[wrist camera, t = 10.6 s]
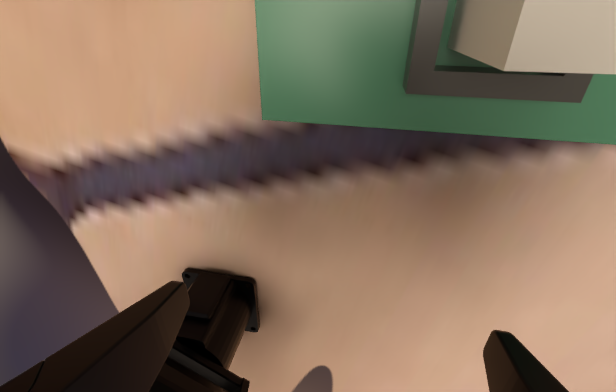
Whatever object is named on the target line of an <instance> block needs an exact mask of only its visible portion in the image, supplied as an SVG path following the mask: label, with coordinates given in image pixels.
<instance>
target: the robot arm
mask: <svg viewBox="0 0 616 392" xmlns="http://www.w3.org/2000/svg"><path fill="white" fill-rule="evenodd" d="M182 277H183V281H184V283H183V282H178V281H171V282H169V283H167V284H165V285H164V286H162V287H161V288H159V289H157V290H156V291H154V292H153V293H151V294H149V295H148V296H146V297H144V298H143V299H141V300H140V301H138V302H136V303H135V304H133V305H132V306H130V307H128V308H127V309H125V310H123V311H122V312H120V313H119V314H117V315H115V316H114V317H112V318H111V319H109V320H107V321H106V322H104V323H103V324H101V325H99V326H98V327H96V328H94V329H93V330H91V331H90V332H88V333H86V334H85V335H83V336H81V337H80V338H78V339H77V340H75V341H73V342H72V343H70V344H69V345H67V346H65V347H64V348H62V349H60V350H59V351H57V352H56V353H54V354H52V355H51V356H49V357H47V358H46V359H45V361H41V362H39V363H38V364H36V365H34V366H33V367H31V368H30V369H28V370H26V371H25V372H23V373H21V374H20V375H18V376H16V377H15V378H13V379H11V380H10V381H8V382H6V383H5V384H3V385H1V386H0V392H248V388H249V383H250V381H248V380H247V379H245V378H240V377H239V376H237V375H235V374H234V373H232V372H230V371H229V370H228V369H229V367H230V364H231V362H232V359H233V357H234V355H235V352H236V350H237V348H238V345H239V343H240V340H241V338H242V336H243V333H244V331H250V332H258V330H259V327H260V323H259V313H258V303H257V293H256V283H255V281H254V280H253V279H251V278H246V277H240V276H233V275H227V274H220V273H214V272H207V271H201V270H194V269H185V270H184V272H183V273H182ZM483 358H484V363H485V369H486V374H487V380H488V386H489V391H490V392H569V391H568V390H567V389H566V388H565V387H564V386H563V385H562V384H561V383H560V382H559V381H558V380H557V379H556V378H555V377H554V376H553V375H552V374H551V373H550V372H549V371H548V370H547V369H546V368H545V367H544V366H543V365H542V364H541V363H540V362H539V361H538V360H537V359H536V358H535V357H534V356H533V355H532V354H531V353H530V352H529V351H528V350H527V349H526V347H525V346H524V345H523V344H522V343H521V342H520V341H519V340H518V339H517V338H516V337H515V336H514V335H513V334H511V333H510V332H506V331H500V330H493V331H492V332H491V334H490V336H489V338H488V340H487V343H486V345H485V347H484V350H483Z"/></svg>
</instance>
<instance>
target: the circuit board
mask: <svg viewBox="0 0 616 392" xmlns="http://www.w3.org/2000/svg"><path fill="white" fill-rule="evenodd" d="M456 2H457V0H255V11H256V27H257V43H258V60H259V76H260V92H261V108H262V120H274V121H288V122H302V123H317V124H331V125H345V126H359V127H373V128H387V129H402V130H416V131H430V132H444V133H458V134H472V135H487V136H501V137H515V138H529V139H543V140H557V141H572V142H586V143H600V144H614V145H616V74H586V73H553V72H520V71H502V70H500V69H498V68H495V67H493V66H490V65H488V64H486V63H483V62H481V61H478V60H476V59H474V58H471V57H469V56H466V55H464V54H462V53H459V52H457V51H454V50H452V49H450V48H447V45H448V40H449V35H450V31H451V26H452V21H453V16H454V11H455V6H456Z"/></svg>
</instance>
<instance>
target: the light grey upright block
mask: <svg viewBox="0 0 616 392" xmlns="http://www.w3.org/2000/svg"><path fill="white" fill-rule="evenodd" d="M447 48H450V49H452V50H454V51H457V52H459V53H462V54H464V55H466V56H469V57H471V58H474V59H476V60H478V61H481V62H483V63H486V64H488V65H490V66H493V67H495V68H498V69H500V70H502V71H520V72H553V73H586V74H616V0H457V2H456V6H455V11H454V16H453V21H452V26H451V31H450V35H449V40H448V45H447Z"/></svg>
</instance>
